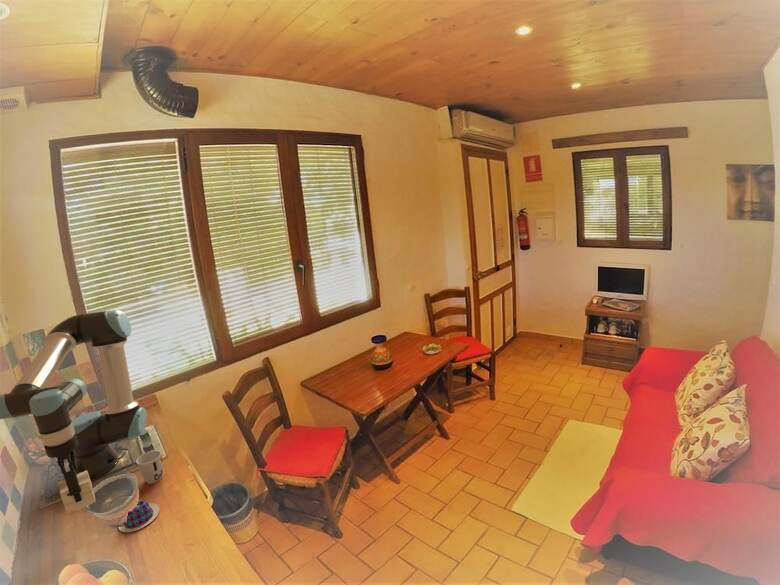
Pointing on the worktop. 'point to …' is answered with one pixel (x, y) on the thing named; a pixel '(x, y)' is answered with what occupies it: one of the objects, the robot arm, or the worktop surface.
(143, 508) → the plate of blueberries
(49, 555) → the worktop surface
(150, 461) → the cup
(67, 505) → the block
